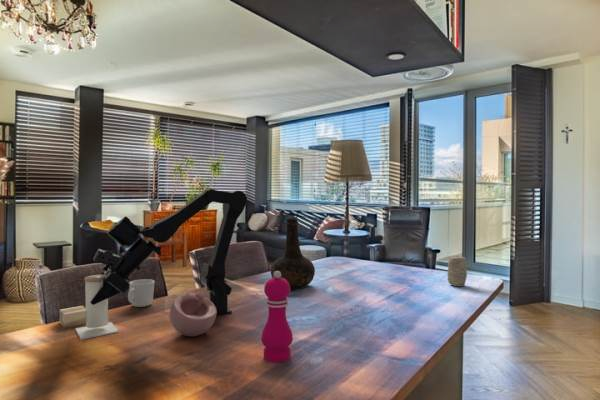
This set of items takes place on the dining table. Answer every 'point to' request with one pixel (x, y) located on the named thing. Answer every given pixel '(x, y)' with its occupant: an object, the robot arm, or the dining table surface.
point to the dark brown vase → (294, 260)
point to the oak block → (73, 316)
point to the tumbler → (99, 311)
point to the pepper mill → (277, 320)
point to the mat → (96, 331)
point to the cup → (141, 292)
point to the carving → (457, 270)
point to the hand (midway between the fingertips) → (91, 301)
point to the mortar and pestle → (192, 314)
